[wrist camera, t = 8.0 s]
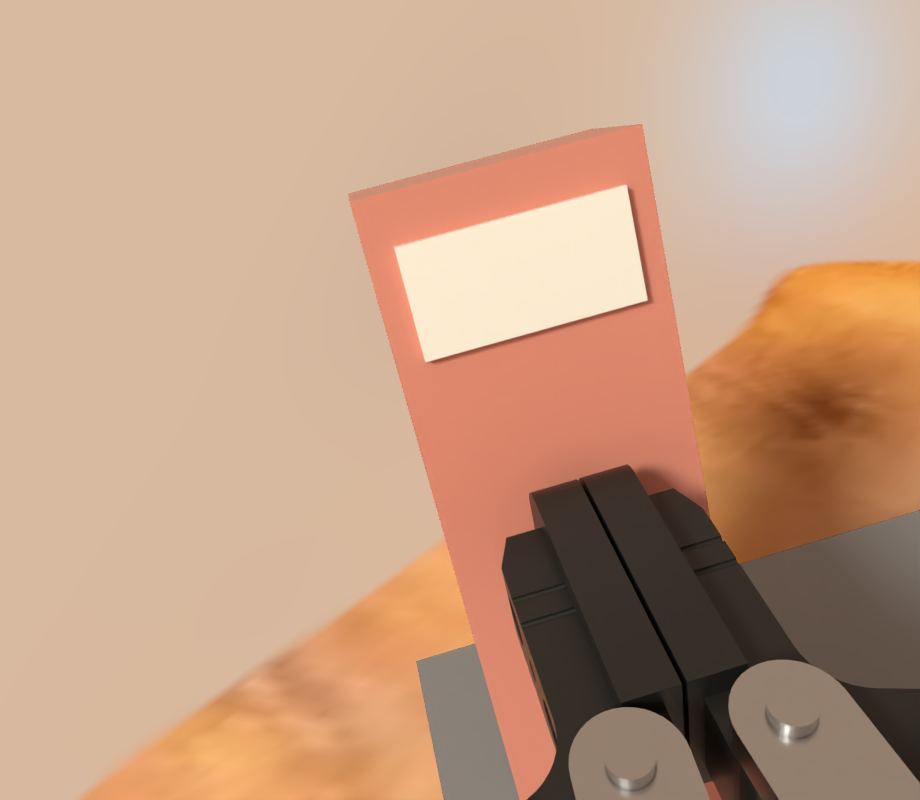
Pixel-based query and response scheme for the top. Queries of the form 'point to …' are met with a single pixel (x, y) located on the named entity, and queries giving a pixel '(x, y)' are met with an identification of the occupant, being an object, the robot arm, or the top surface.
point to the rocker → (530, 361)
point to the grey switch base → (790, 600)
